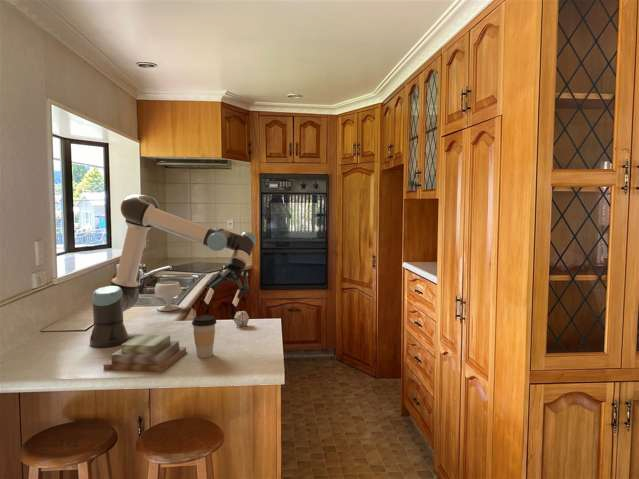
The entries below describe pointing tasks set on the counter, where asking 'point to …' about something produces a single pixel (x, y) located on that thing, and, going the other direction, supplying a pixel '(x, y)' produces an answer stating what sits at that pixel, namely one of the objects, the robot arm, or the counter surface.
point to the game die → (241, 318)
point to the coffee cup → (204, 335)
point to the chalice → (167, 293)
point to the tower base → (146, 366)
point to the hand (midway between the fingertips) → (220, 303)
